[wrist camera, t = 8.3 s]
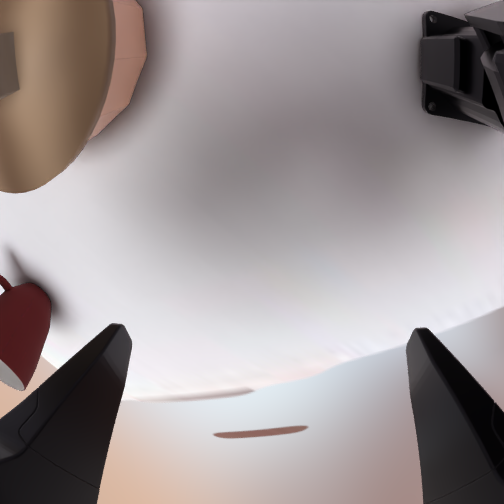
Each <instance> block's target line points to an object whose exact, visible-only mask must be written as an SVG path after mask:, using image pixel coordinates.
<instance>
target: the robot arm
mask: <svg viewBox="0 0 504 504" xmlns="http://www.w3.org/2000/svg"><path fill="white" fill-rule="evenodd" d="M464 15H465V17H466V19H467V21H468V22H466V21H463V20H460V19H457V18H454V17H451V16H448V15H444V14H441V13H438V12H434V11H428V12H425V13H424V14H423V35H424V38H422V39H421V77H420V78H421V80H422V81H423V98H422V107H423V109H424V111H425V112H427V113H429V114H431V115H437V116H443V117H448V118H454V119H459V120H464V121H469V122H473V123H478V124H482V125H486V126H490V127H492V128H494V129H496V130H498V131H500V132H502V133H504V0H502V1H499V2H496V3H493V4H490V5H487V6H485V7H482V8H479V9H476V10H474V11H471V12H468V13H466V14H464ZM430 16H432V17H433V18H434V22H431V21H430V18H429V17H430ZM431 102H432V104H433V107H432V109H429V107H428V106H429V103H431ZM131 350H132V340H131V338H130V336H129V334H128V332H127V330H126V328H125V326H124V325H123V324H117V323H112V324H110V325H109V326H107V327H106V328H105V329H104V330H103V331H102V332H100V333H99V334H98V335H97V336H96V337H95V338H93V339H92V340H91V341H90V342H89V343H88V344H87V345H85V346H84V347H83V348H82V349H81V350H80V351H78V352H77V353H76V354H75V355H74V356H73V357H72V358H70V359H69V360H68V361H67V362H66V363H65V364H64V365H63V366H61V367H60V368H59V369H58V370H57V371H56V372H55V373H54V374H52V375H51V376H50V377H49V378H48V379H47V380H46V381H45V382H44V383H42V384H41V385H40V386H39V388H37V389H36V390H35V391H34V392H32V393H31V394H30V395H29V396H28V397H27V398H26V399H25V400H23V401H22V402H21V403H20V404H19V405H17V406H16V407H15V408H14V409H12V410H11V411H10V412H8V413H7V414H6V415H5V416H3V417H2V418H1V419H0V504H97V500H98V495H99V488H100V484H101V479H102V474H103V469H104V465H105V461H106V457H107V452H108V448H109V444H110V440H111V436H112V432H113V428H114V424H115V420H116V416H117V413H118V409H119V405H120V402H121V398H122V395H123V391H124V387H125V382H126V377H127V371H128V366H129V360H130V355H131ZM406 355H407V365H408V375H409V388H410V397H411V403H412V409H413V414H414V421H415V427H416V434H417V441H418V449H419V457H420V466H421V476H422V489H423V504H504V412H503V411H502V409H501V408H500V407H499V406H498V405H497V403H494V400H493V399H492V398H491V397H490V395H489V394H488V393H487V392H486V391H485V390H484V388H483V387H482V386H481V385H480V384H479V383H478V382H477V381H476V380H475V378H474V377H473V376H472V375H471V374H470V373H469V372H468V370H467V369H466V368H465V367H464V366H463V365H462V364H461V363H460V362H459V361H458V360H457V359H456V357H454V355H453V354H452V353H451V352H450V351H449V350H448V349H447V348H446V347H445V346H444V345H443V344H442V342H440V340H439V339H438V338H437V337H436V336H435V335H434V334H433V333H432V332H431V331H430V330H429V329H428V328H425V327H423V328H415V329H414V330H413V332H412V335H411V337H410V339H409V341H408V343H407V347H406Z"/></svg>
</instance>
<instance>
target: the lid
mask: <svg viewBox="0 0 504 504" xmlns="http://www.w3.org/2000/svg"><path fill="white" fill-rule="evenodd" d="M115 47H116V20H115V13H114V6H113V1H112V0H0V191H3V192H7V193H24V192H28V191H32V190H35V189H37V188H39V187H41V186H43V185H45V184H46V183H48V182H49V181H50V180H52V179H53V178H54V177H56V176H57V175H58V174H60V173H61V172H63V171H64V170H65V169H66V168H67V167H68V166H69V165H70V164H71V163H72V162H73V161H74V160H75V158H76V157H77V156H78V155H79V153H80V152H81V151H82V149H83V148H84V146H85V145H86V143H87V141H88V140H89V138H90V136H91V135H92V133H93V131H94V128H95V126H96V124H97V122H98V120H99V118H100V115H101V112H102V109H103V107H104V104H105V101H106V98H107V94H108V90H109V86H110V83H111V78H112V72H113V66H114V60H115Z"/></svg>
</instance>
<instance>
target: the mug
mask: <svg viewBox="0 0 504 504" xmlns="http://www.w3.org/2000/svg"><path fill="white" fill-rule="evenodd" d="M0 285H1V286H2V287H3V288H4V290H5V291H4V292H3V293H2V294H1V295H0V381H2V382H3V383H5V384H7V385H8V386H10V387H12V388H14V389H16V390H20V391H23V390H25V389H26V387H27V385H28V383H29V381H30V380H31V378H32V376H33V374H34V372H35V369H36V367H37V364H38V361H39V358H40V355H41V352H42V349H43V346H44V343H45V341H46V338H47V335H48V332H49V328H50V318H51V302H50V299H49V298H48V296H47V294H46V293H45V292H44V291H43V290H42V289H41V288H40V287H38V286H37V285H35V284H33V283H25V284H21V285H18V286H15V287H12V286H11V285H10V284H9V282H8V281H7V280H6V279H5V278H4V277H3V276H1V275H0Z"/></svg>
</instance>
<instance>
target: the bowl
mask: <svg viewBox="0 0 504 504" xmlns="http://www.w3.org/2000/svg"><path fill="white" fill-rule="evenodd" d="M112 1H113V6H114V13H115V20H116V47H115V60H114V66H113V72H112V78H111V83H110V86H109V90H108V94H107V98H106V101H105V104H104V107H103V109H102V112H101V115H100V118H99V120H98V122H97V124H96V126H95V128H94V131H93V133H92V135H91V136H90V138H89V140H90V139H92V138H93V137H95V136H97V135H98V134H99V133H100V132H101V131H102V130H103V129H104V128H105V127H106V126H107V125H108V124H109V123H110V122H111V121H112V120H113V119H114V118H115V117H116V116H117V115H118V114H119V113H120V112H121V111H122V110H124V109H125V108H126V107H127V106H128V105H129V103H130V100H131V97H132V94H133V92H134V89H135V86H136V83H137V81H138V78H139V75H140V73H141V70H142V68H143V65H144V63H145V60H146V58H147V52H146V42H145V32H144V20H143V9H142V7H141V6H140V5H139V4H138V3H137V2H136V0H112Z"/></svg>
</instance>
